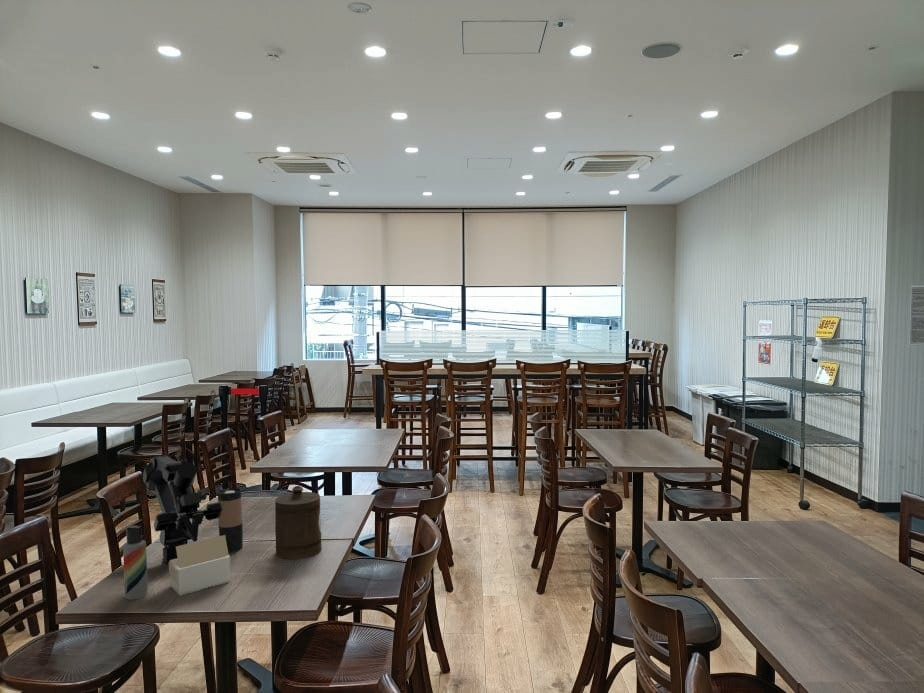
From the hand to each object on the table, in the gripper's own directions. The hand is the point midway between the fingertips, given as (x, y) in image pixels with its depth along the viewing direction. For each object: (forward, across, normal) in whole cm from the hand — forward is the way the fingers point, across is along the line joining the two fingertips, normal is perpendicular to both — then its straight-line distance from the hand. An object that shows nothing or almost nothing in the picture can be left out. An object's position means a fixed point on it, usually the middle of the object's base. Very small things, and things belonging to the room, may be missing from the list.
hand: (195, 540), depth 180 cm
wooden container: (+8, +33, +9) cm, 35 cm away
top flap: (+5, 0, -3) cm, 6 cm away
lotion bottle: (+8, -16, +9) cm, 20 cm away
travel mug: (-5, +17, +22) cm, 28 cm away
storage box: (+11, 0, +6) cm, 12 cm away
